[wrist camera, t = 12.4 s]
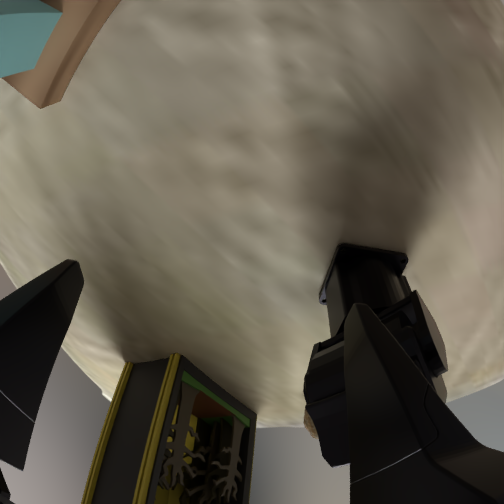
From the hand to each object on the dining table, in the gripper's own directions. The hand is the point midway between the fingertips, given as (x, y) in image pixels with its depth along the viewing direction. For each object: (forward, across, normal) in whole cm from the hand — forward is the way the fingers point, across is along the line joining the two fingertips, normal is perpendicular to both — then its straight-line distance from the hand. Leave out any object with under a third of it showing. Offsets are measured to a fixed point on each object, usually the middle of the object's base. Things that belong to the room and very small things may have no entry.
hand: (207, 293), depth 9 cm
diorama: (+13, +4, +36) cm, 39 cm away
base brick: (+13, +16, -10) cm, 23 cm away
